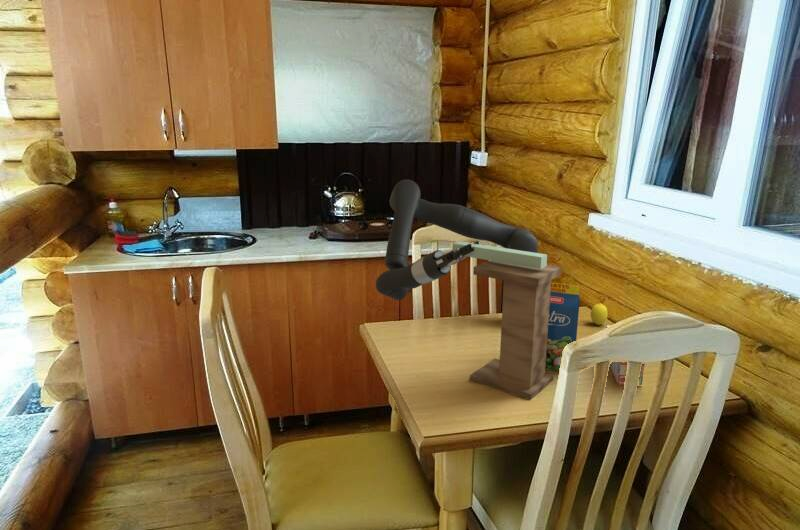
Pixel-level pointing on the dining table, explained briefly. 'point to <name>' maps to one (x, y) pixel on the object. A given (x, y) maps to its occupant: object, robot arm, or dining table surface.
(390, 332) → the dining table surface
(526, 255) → the sage bar
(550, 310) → the blue food package
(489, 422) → the dining table surface
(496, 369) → the walnut stand
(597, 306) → the lemon
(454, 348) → the dining table surface
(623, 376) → the stack of blocks
